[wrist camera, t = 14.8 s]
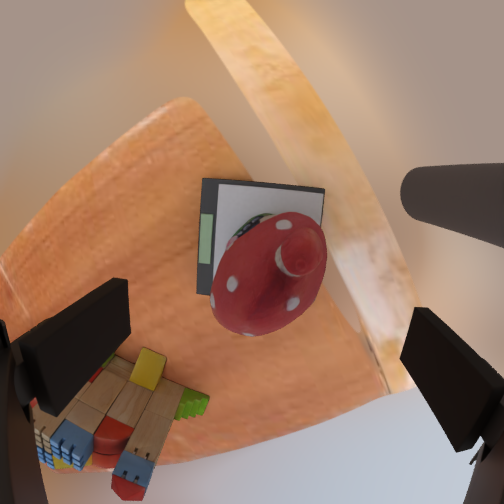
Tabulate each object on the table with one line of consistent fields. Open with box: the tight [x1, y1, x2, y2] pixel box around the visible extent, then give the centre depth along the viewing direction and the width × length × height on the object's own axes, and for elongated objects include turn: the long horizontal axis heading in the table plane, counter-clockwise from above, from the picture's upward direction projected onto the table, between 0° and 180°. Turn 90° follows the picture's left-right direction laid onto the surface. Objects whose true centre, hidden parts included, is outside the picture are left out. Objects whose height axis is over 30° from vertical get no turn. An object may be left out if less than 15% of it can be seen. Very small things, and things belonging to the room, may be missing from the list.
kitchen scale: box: [196, 178, 325, 295], centre depth 31 cm, size 12×12×3 cm
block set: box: [30, 347, 209, 501], centre depth 29 cm, size 28×14×19 cm, turn 69°
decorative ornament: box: [210, 212, 327, 336], centre depth 22 cm, size 9×6×15 cm
